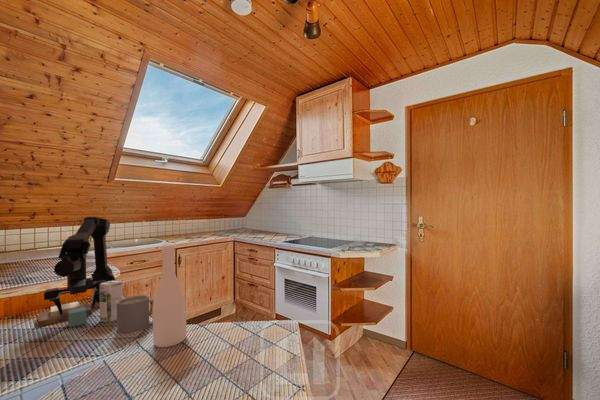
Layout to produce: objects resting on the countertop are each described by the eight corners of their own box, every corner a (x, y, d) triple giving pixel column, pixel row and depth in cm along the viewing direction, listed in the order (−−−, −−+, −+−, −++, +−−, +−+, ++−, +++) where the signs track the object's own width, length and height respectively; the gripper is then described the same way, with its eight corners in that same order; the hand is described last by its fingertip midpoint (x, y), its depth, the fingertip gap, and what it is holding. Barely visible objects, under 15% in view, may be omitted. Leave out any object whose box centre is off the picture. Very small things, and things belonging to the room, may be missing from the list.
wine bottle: (168, 350, 80) (166, 248, 81) (146, 345, 83) (143, 247, 84) (193, 336, 88) (190, 244, 90) (171, 332, 92) (169, 243, 93)
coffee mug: (123, 336, 91) (123, 306, 91) (112, 329, 97) (112, 301, 97) (164, 322, 102) (163, 295, 102) (151, 316, 108) (151, 291, 108)
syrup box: (98, 321, 105) (98, 283, 106) (114, 315, 111) (113, 279, 111) (108, 323, 103) (107, 284, 104) (123, 317, 108) (123, 280, 109)
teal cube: (85, 319, 108) (84, 306, 108) (86, 323, 104) (86, 309, 104) (68, 323, 104) (68, 310, 105) (69, 327, 101) (69, 313, 101)
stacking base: (88, 307, 123) (88, 298, 123) (91, 314, 113) (91, 304, 113) (39, 317, 112) (39, 308, 112) (38, 326, 102) (38, 316, 102)
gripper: (43, 279, 93) (44, 325, 92) (109, 269, 106) (110, 309, 105) (43, 274, 101) (44, 316, 101) (105, 265, 114) (105, 303, 113)
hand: (77, 311), depth 105 cm, fingers open, 9 cm apart
